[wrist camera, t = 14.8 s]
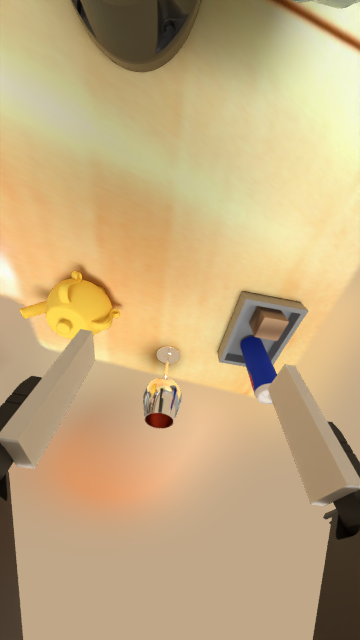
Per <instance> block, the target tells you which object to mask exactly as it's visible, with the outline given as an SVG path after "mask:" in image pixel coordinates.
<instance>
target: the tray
mask: <svg viewBox="0 0 360 640" xmlns="http://www.w3.org/2000/svg"><path fill="white" fill-rule="evenodd" d="M257 306H262V307H267V308H272V309H277V310H281V311H282V312H283V314H284V315H285V317H286V318H287V319H288V321H289V323H288V325H287V326H286V328H285V330H284V331H283V333H282V335H281V336H280V338H279V339H278V341H275V340H269V339H264V338H260V339H261V340H262V343H263V345H264V347H265V349H266V351H267V354H268V356H269V358H270V360H271V362H272V365H273V364H274V363H275V361H276V360H277V358H278V357H279V355H280V354H281V352H282V350H283V349H284V347H285V346H286V344H287V343H288V341H289V340H290V338H291V337H292V335H293V334H294V332H295V331H296V329H297V327H298V326H299V324H300V323H301V321H302V320H303V318H304V317H305V315H306V314H307V312H308V310H307V309H306V308H305V307H304V306H303V304H302V303H301V302H297V301H291V300H286V299H281V298H276V297H271V296H266V295H260V294H255V293H250V292H245V291H242V293H241V295H240V298H239V300H238V303H237V305H236V308H235V310H234V313H233V315H232V318H231V320H230V323H229V325H228V328H227V330H226V333H225V335H224V338H223V340H222V343H221V345H220V348H219V350H218V358H219V362H222V363H227V364H233V365H239V366H245V367H246V364H245V361H244V357H243V354H242V351H241V347H240V344H241V342H242V340H243V339H244V338H246V337H248V336H254V334H253V332H252V329H251V327H250V325H249V322H250V320H251V317H252V315H253V313H254V311H255V309H256V307H257Z"/></svg>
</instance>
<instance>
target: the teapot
mask: <svg viewBox="0 0 360 640" xmlns="http://www.w3.org/2000/svg"><path fill="white" fill-rule="evenodd" d="M71 277H72V279H66V280H63V281H61V282H59V283H58V284H57V285H56V286H55V287H54V288H53V289H52V290H51V292H50V294H49V296H48V298H47V301H45V302H41V303H38V304H35V305H31V306H28V307H25V308H21V309H20V312H21V314H22V316H23V317H24V318H25V319H26V318H30V317H33V316H36V315H40V314H43V313H46V318H47V322H48V324H49V326H50V327H51V328H52V330H53V331H55V332H56V333H57V334H59V335H60V336H63V337H65V338H69V339H73V338H74V337H75V335H76V334H77V333H78V332H79V330H80V329H83V330H89V331H92V332H93V335H95V334H97V333H99V332H100V331H102V330H105V329H108V328H109V327H110V326H111V324H112V319H113V318H118V317H119V316H120V311H119V310H117V309H112V305H111V302H110V300H109V298H108V296H107V295H106V294H105V289H104V288H103V287H101V286H96V285H95V284H93V283H91V282H89V281H86V280H82V275H81V273H80V272H78V271H73V272H72V273H71Z"/></svg>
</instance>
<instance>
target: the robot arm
mask: <svg viewBox="0 0 360 640" xmlns="http://www.w3.org/2000/svg"><path fill="white" fill-rule="evenodd" d="M293 1H294V2H297V3H302V2H308V1H314V2H317V3H321V4H324V5H328V6H331V7H334V8H346V7H348V6H350V5H352V4H354V3H358V2H359V1H360V0H293ZM71 2H72V4H73V6H74V8H75V11H76V12H77V14H78V16H79V18H80V20H81V22H82V23H83V25H84V26H85V28H86V30H87V31H88V33H89V34H90V36H91V37H92V39H93V40H94V41H95V43H96V44H97V45H98V47H99V48H100V49H101V50H102V51H103V52H104V54H105V55H107V56H108V57H109V58H110V59H111V60H112V61H114V62H115V63H116V64H118V65H120V66H122V67H124V68H126V69H129V70H132V71H138V72H145V71H151V70H154V69H157V68H159V67H161V66H162V65H164V64H166V63H167V62H168V61H169V60H170V59H172V58H173V57H174V56H175V54H176V53H177V52H178V51H179V50H180V48H181V47H182V45H183V44H184V42H185V41H186V39H187V37H188V35H189V33H190V31H191V29H192V26H193V24H194V21H195V19H196V16H197V13H198V9H199V6H200V2H201V0H71ZM94 361H95V355H94V343H93V332H92V331H89V330H83V329H80V330H79V332H78V333H77V334H76V335H75V337H74V338H73V339H72V341H71V342H70V343H69V344H68V346H67V347H66V348H65V350H64V351H63V352H62V353H61V355H60V356H59V357H58V359H57V360H56V361H55V362H54V364H53V365H52V366H51V368H50V369H49V370H48V371H47V373H46V374H45V375H44V376H43V378H41V377H35V376H31V377H29V378H28V379H27V380H25V381H23V382H22V383H21V384H20V385H19V386H18V387H17V388H16V389H15V390H14V392H13V393H12V395H10V396H9V397H8V398H7V400H6V401H5V403H3V404H2V405H1V407H0V640H23V634H22V623H21V610H20V598H19V586H18V575H17V564H16V551H15V539H14V528H13V516H12V504H11V494H10V481H9V472H8V470H9V468H10V466H11V465H12V463H13V462H14V463H15V464H16V465H17V466H18V467H24V468H32V469H35V468H36V466H37V464H38V462H39V461H40V459H41V457H42V455H43V453H44V452H45V450H46V448H47V446H48V444H49V443H50V441H51V439H52V437H53V435H54V434H55V432H56V430H57V428H58V426H59V425H60V423H61V421H62V419H63V417H64V416H65V414H66V412H67V410H68V408H69V407H70V404H71V403H72V401H73V399H74V398H75V396H76V394H77V392H78V390H79V389H80V387H81V385H82V383H83V381H84V379H85V378H86V376H87V374H88V372H89V371H90V368H91V367H92V365H93V363H94ZM268 391H269V394H270V397H271V399H272V402H273V405H274V407H275V410H276V413H277V415H278V418H279V421H280V423H281V426H282V429H283V431H284V434H285V437H286V439H287V442H288V445H289V447H290V450H291V452H292V456H293V458H294V461H295V464H296V466H297V468H298V471H299V474H300V477H301V480H302V482H303V485H304V488H305V490H306V493H307V496H308V498H309V501H310V504H315V505H323V506H326V505H328V504H330V503H332V502H333V503H334V505H335V507H336V509H335V510H332V511H330V512H328V513H326V514H325V515H324V517H323V518H325V519H328V518H331V517H332V521H331V522H329V523H330V524H331V528H330V534H329V541H328V546H327V553H326V560H325V566H324V572H323V578H322V584H321V591H320V597H319V604H318V610H317V616H316V623H315V629H314V635H313V640H360V462H359V461H358V459H357V458H356V456H355V454H353V451H352V449H351V448H350V446H349V445H348V444H347V441H346V439H345V438H344V436H343V435H342V433H341V432H340V430H339V429H338V428H337V427H336V426H335V425H334V424H333V423H332V422H327V421H326V419H325V417H324V415H323V413H322V412H321V410H320V408H319V407H318V405H317V403H316V401H315V400H314V398H313V396H312V394H311V393H310V391H309V389H308V387H307V386H306V384H305V382H304V380H303V379H302V377H301V375H300V373H299V372H298V370H297V368H296V367H295V366H292V365H286V364H285V365H284V366H283V367H282V369H281V370H280V372H279V373H278V375H277V376H276V377H275V379H274V380H273V382H272V383H271V385H270V386H269V387H268Z"/></svg>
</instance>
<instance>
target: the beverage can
mask: <svg viewBox="0 0 360 640" xmlns="http://www.w3.org/2000/svg"><path fill="white" fill-rule="evenodd" d="M240 347H241V351H242V354H243V357H244V361H245V364H246V367H247V371H248V374H249V377H250V381H251V384H252V387H253V390H254V394H255V396H256V398H257V399H258V401H259V402H261V403H263V404H273V402H272V399H271V397H270V394H269V391H268V387H269V386H270V385H271V383H272V382H273V380H274V379H275V377H276V376H277V374H276V371H275V369H274V367H273V365H272V362H271V360H270V358H269V356H268V354H267V351H266V349H265V347H264V345H263V343H262V340H261V339H260V338H258V337H254V336H248V337H246V338H244V339H243V340H242V342H241V344H240Z"/></svg>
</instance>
